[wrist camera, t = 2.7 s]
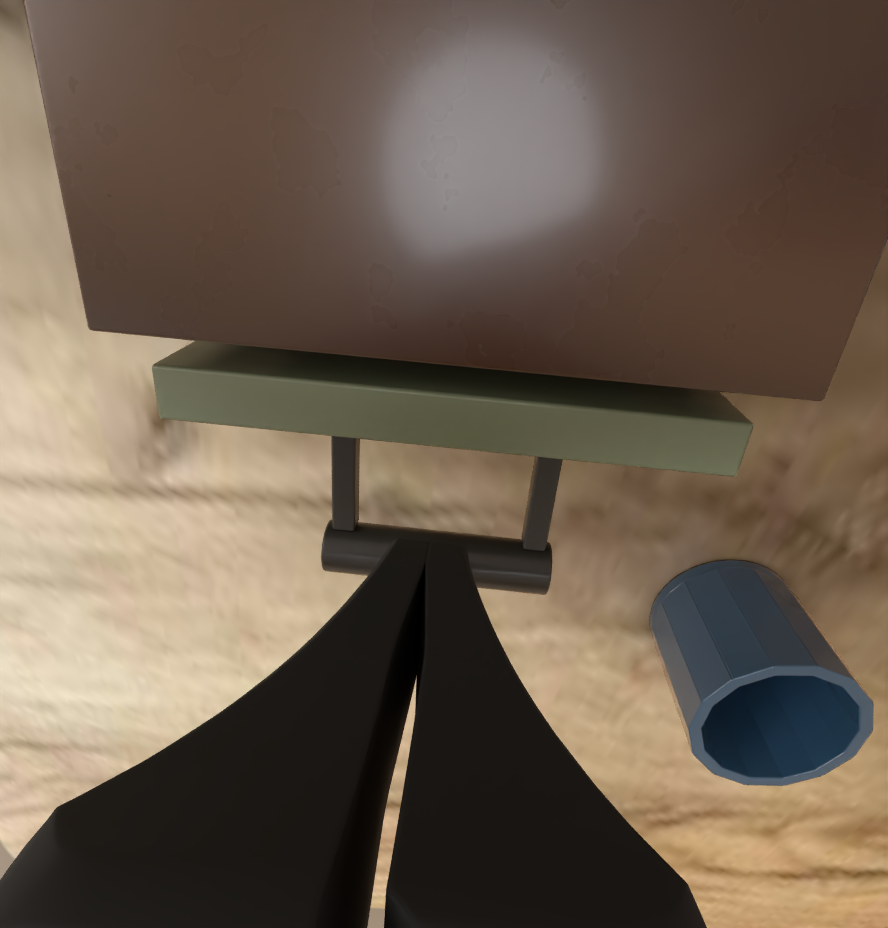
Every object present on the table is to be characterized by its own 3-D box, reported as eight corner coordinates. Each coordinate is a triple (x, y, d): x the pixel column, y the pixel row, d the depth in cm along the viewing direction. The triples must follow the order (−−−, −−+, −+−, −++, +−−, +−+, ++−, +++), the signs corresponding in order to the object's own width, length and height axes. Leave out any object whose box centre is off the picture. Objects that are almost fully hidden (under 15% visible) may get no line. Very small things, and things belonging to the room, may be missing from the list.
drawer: (620, 514, 20) (675, 657, 14) (275, 478, 20) (186, 603, 14) (796, -185, 12) (1087, -528, 6) (232, -223, 12) (1, -582, 7)
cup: (824, 605, 22) (915, 720, 17) (716, 686, 24) (771, 808, 19) (723, 533, 21) (789, 636, 16) (619, 625, 23) (652, 739, 18)
